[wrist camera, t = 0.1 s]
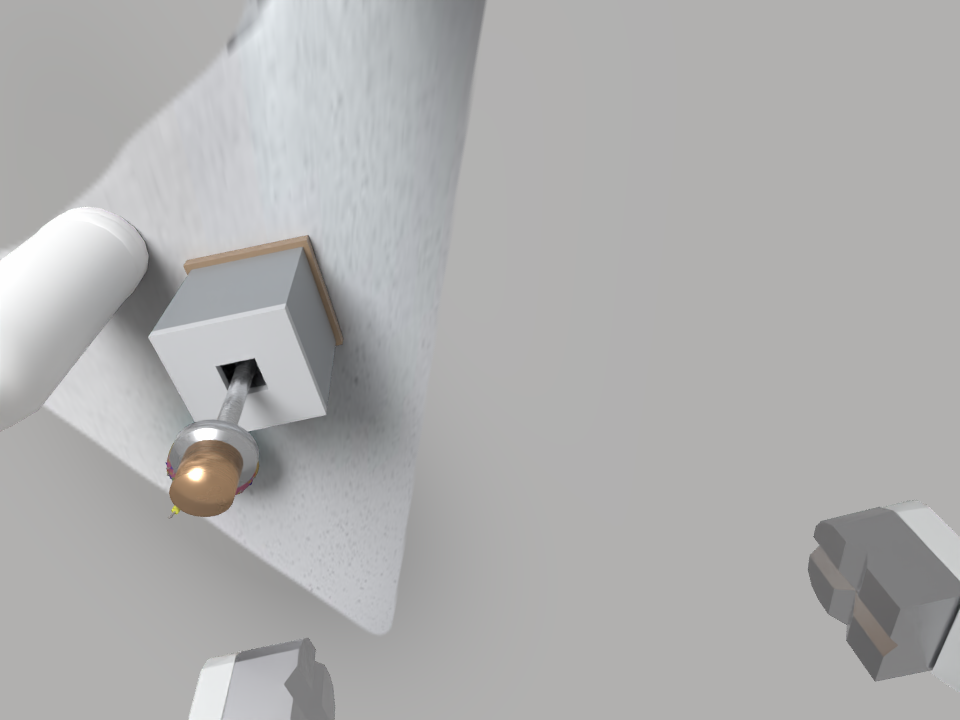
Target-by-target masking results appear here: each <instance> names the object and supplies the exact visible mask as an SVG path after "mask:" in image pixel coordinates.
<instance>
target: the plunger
mask: <svg viewBox="0 0 960 720" xmlns="http://www.w3.org/2000/svg"><path fill="white" fill-rule="evenodd" d="M220 366H221V368H222V370H223V372H224V374H225V376H226V378H227V381H228V383H229V385H230V386H229V388H228V391H227V394H226V396H225V399H224V402H223V404H222V407H221V410H220V412H219V415H218V418H217V420H213V419H211V420H202V421H198V422H194V423H192V424H190V425H188V426H186V427H185V428H184V429H182V430H181V431H180V432H179V434H178V435H177V437H176V439H175V442H174V444H173V446H172V448H171V451H170V463H171V466H172V468H173V470H174V472H175V473H176V475H175V477H174V480H173V482H172V484H171V487H170V490H169V494H170V498H171V500H172V502H173V504H174V505H175V506H176V507H177V508H179V509H180V510H182V511H183V512H185V513H188V514H190V515H194V516H200V517H210V516H215V515H219V514H221V513H223V512H225V511H226V510H228V509H229V508H230V506H231V505H232V503H233V500H234V497H235V493H236V490H237V488H238V487H240V486H242V485H244V484H245V483H247V482H248V481H249V480H250V479H251V478H252V476H253V475H254V473H255V470H256V467H257V463H258V459H259V448H258V445H257V443H256V441H255V439H254V438H253V437H252V435H251V434H250V433H249V432H247V431H246V430H245V429H243V428H242V427H240V426H238V422H239V419H240V416H241V413H242V410H243V407H244V404H245V401H246V398H247V394H248V391H249V388H253V387H257V386H262V385H266V382H265V380H264V378H263V376H262V373H261V371H260V369H259V367H258V364H257V362H256V360H255V358H253V359H248V360H244V361H239V362H234V363H229V364H225V365H220Z"/></svg>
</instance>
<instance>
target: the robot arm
mask: <svg viewBox="0 0 960 720" xmlns="http://www.w3.org/2000/svg"><path fill="white" fill-rule="evenodd" d="M814 538H815V540H816V541H817V542H818V544H819V546H818V547H817V548H816V550H814V551H813V553H812V554H811V555H810V557H809V565H808V572H809V576H810V580H811V584H812V587H813V589H814V591H815V594H816V596H817V598H818V600H819V601H820V603H821V604H822V606H823V607H824V608H825V610H826V611H827V613H828V614H829V615H830V616H832V617H834V618H836V619H837V620H839V621H841V622H843V623H844V624H846V625H847V635H846V641H847V642H848V644H849V645H850V646H851V648H852V649H853V651H854V652H855V654H856V655H857V656H858V658H859V659H860V661H861V662H862V664H863V665H864V666H865V668H866V669H867V671H868V672H869V674H870V675H871V677H872V678H873V679H874V681H880V680H885V679H890V678H895V677H900V676H905V675H910V674H915V673H920V672H925V671H930V670H932V672H931V674H932V675H934V676H935V677H937V678H938V679H940V680H941V681H943V682H944V683H946V684H947V685H948V686H950V687H951V688H953V689H954V690H956V691H957V692H959V693H960V537H959V536H958V535H957V534H956V533H955V532H954V531H953V530H952V529H951V528H950V527H949V526H948V525H947V524H946V523H945V522H944V521H943V520H942V519H941V518H940V517H938V516H937V514H936V513H934V512H933V511H932V510H931V509H930V508H929V507H928V506H927V505H926V504H924V503H922V502H920V501H918V500H912V501H906V502H902V503H898V504H894V505H890V506H886V507H882V508H881V507H877V508H873V509H869V510H865V511H861V512H856V513H852V514H849V515H844V516H840V517H836V518H832V519H828V520H824V521H821V522H820V523H819V524H818V525H817V526H816V528H815V532H814ZM315 650H316V649H315V647H314V646H313V644H312V642H311V641H310V639H309V638H304V639H299V640H294V641H290V642H285V643H280V644H275V645H270V646H266V647H261V648H256V649H251V650H247V651H241V652H236V653H231V654H227V655H222V656H218V657H214V658H209V659H208V660H207V662H206V664H205V665H204V667H203V668H202V670H201V672H200V676H199V680H198V683H197V688H196V691H195V695H194V699H193V703H192V706H191V710H190V714H189V718H188V720H334V719H335V718H334V717H335V702H334V690H333V684H332V681H331V678H330V674H329V672H328V671H327V668H326V667H325V665H323V664H321V663H318V662H316V661H315V652H316V651H315Z"/></svg>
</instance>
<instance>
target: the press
mask: <svg viewBox="0 0 960 720" xmlns="http://www.w3.org/2000/svg"><path fill="white" fill-rule="evenodd" d="M183 266H184V268H185V271H186V273H187V275H188V276H187V277H186V279H185V280H184V282H183V283H182V285H181V287H180V288H179V290H178V291H177V293H176V294H175V296H174V297H173V299H172V301H171V302H170V304H169V305H168V307H167V308H166V310H165V311H164V313H163V315H162V316H161V318H160V319H159V321H158V322H157V324H156V325H155V327H154V329H153V330H152V332H151V333H150V335H149V336H148V338H149V340H150V341H151V343H152V345H153V347H154V349H155V351H156V352H157V354H158V356H159V358H160V360H161V361H162V363H163V365H164V367H165V369H166V371H167V372H168V374H169V376H170V378H171V380H172V382H173V383H174V385H175V387H176V389H177V391H178V392H179V394H180V396H181V398H182V400H183V402H184V403H185V405H186V407H187V409H188V411H189V412H190V414H191V416H192V418H193V420H194V422H198V421H202V420H211V419H213V420H217V418H218V415H219V412H220V410H221V407H222V404H223V402H224V399H225V396H226V394H227V391H228V388H229V386H230V385H229V383H228V381H227V378H226V376H225V374H224V372H223V370H222V368H221V366H220V365H225V364H229V363H234V362H239V361H244V360H248V359H253V358H255V360H256V362H257V364H258V367H259V369H260V371H261V373H262V376H263V378H264V380H265V382H266V385H262V386H257V387H253V388H249V391H248V394H247V398H246V401H245V404H244V407H243V410H242V413H241V416H240V419H239V422H238V426H240V427H242V428H243V429H245V430H246V431H247V432H248V431H253V430H258V429H262V428H267V427H272V426H276V425H281V424H286V423H291V422H295V421H300V420H305V419H309V418H314V417H319V416H323V415H326V414H327V406H328V398H329V391H330V383H331V376H332V368H333V360H334V353H335V346H337V345H342V344H343V336H342V333H341V330H340V327H339V324H338V321H337V319H336V316H335V313H334V310H333V307H332V304H331V301H330V298H329V295H328V292H327V289H326V286H325V283H324V280H323V278H322V275H321V272H320V269H319V266H318V263H317V260H316V257H315V254H314V251H313V248H312V245H311V242H310V239H309V237H308V235H306V236H302V237H297V238H292V239H287V240H282V241H278V242H273V243H268V244H263V245H258V246H254V247H249V248H244V249H239V250H234V251H230V252H225V253H220V254H215V255H210V256H206V257H201V258H196V259H191V260H187V261H186V263H185V264H184V265H183Z"/></svg>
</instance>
